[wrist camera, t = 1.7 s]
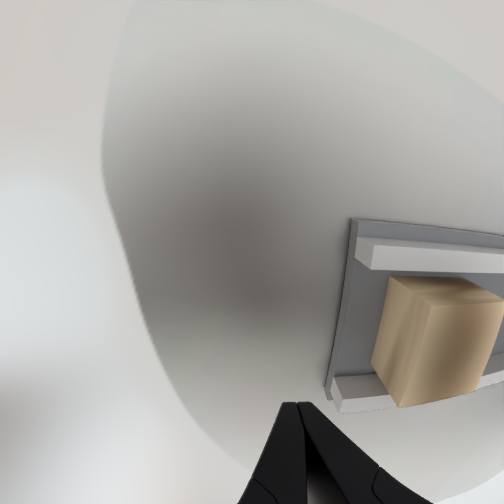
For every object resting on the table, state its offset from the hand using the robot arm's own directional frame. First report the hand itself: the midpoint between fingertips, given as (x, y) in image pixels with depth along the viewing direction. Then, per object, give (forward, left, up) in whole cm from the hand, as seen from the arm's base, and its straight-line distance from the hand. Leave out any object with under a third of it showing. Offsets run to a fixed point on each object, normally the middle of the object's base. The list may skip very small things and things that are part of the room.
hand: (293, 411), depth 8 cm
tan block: (-8, 0, -6) cm, 10 cm away
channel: (-13, 0, -7) cm, 15 cm away
